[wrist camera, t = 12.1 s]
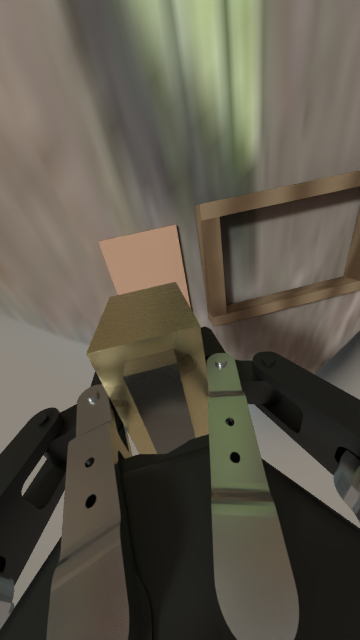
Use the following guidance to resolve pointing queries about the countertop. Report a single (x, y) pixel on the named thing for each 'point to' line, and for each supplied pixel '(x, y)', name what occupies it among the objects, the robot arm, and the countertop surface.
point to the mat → (145, 260)
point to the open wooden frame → (219, 313)
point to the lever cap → (153, 367)
